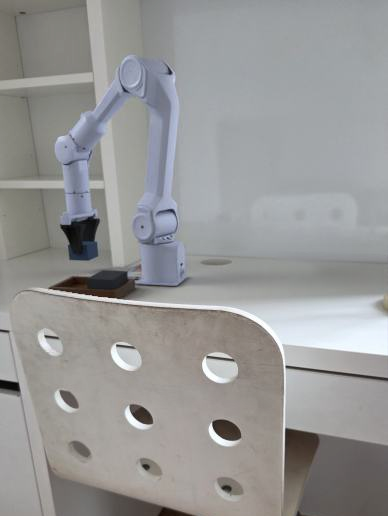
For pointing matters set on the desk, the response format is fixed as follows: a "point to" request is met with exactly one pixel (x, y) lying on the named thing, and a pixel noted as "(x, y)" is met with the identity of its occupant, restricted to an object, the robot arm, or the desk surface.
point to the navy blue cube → (85, 251)
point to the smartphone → (135, 273)
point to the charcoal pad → (107, 280)
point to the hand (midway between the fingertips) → (83, 251)
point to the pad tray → (80, 286)
